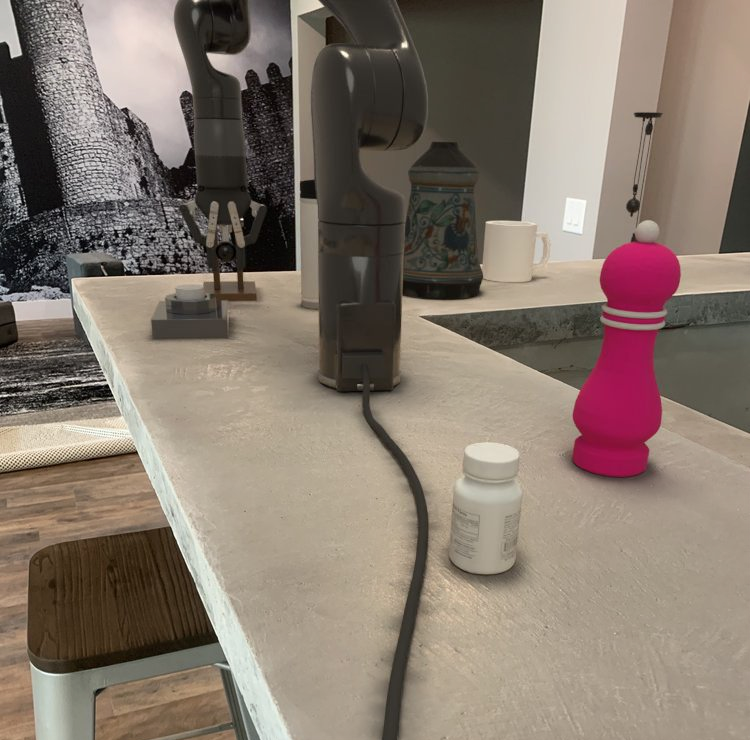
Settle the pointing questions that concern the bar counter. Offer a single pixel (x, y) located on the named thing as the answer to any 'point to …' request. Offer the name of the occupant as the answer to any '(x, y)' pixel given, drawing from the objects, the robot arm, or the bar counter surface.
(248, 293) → the pendulum stand
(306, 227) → the travel mug
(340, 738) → the bar counter surface
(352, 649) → the bar counter surface
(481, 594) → the bar counter surface
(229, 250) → the flush lever
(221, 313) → the button base
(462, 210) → the beer stein
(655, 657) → the bar counter surface
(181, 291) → the flush button
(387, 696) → the robot arm
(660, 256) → the pepper mill
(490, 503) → the pill bottle
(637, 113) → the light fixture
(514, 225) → the mug
